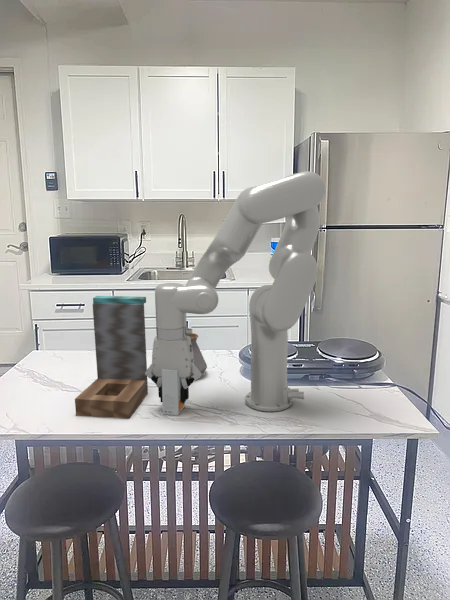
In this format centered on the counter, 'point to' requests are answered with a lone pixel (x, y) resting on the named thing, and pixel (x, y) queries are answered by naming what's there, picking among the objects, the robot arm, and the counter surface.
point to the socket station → (117, 359)
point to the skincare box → (171, 392)
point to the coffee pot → (197, 355)
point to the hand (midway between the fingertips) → (173, 400)
